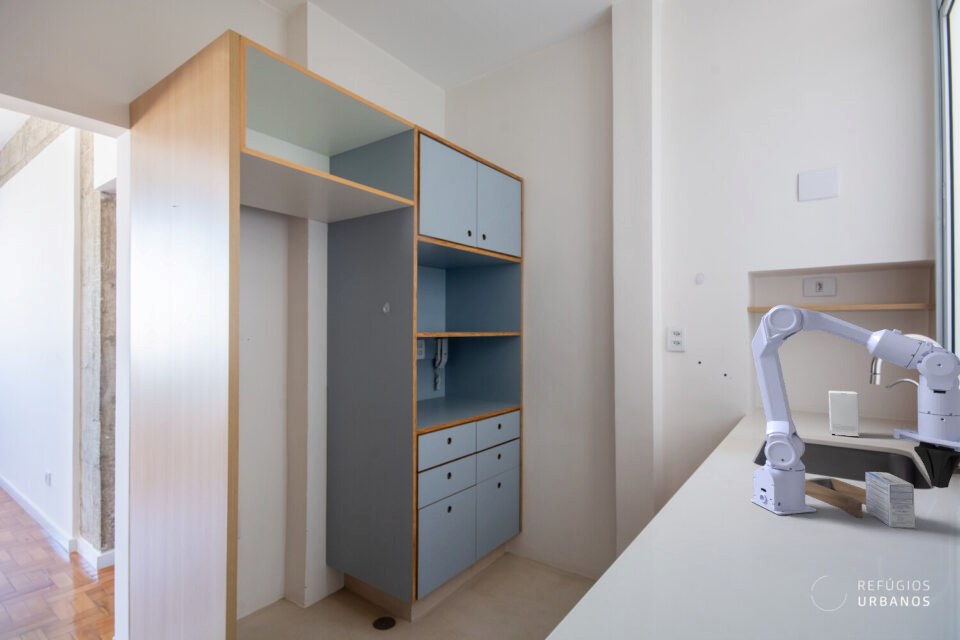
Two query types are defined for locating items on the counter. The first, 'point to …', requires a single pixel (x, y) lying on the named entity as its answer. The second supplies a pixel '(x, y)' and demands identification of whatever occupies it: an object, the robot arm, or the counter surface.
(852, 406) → the skincare box
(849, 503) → the guide channel
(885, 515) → the medicine box
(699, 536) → the counter surface
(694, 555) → the counter surface
